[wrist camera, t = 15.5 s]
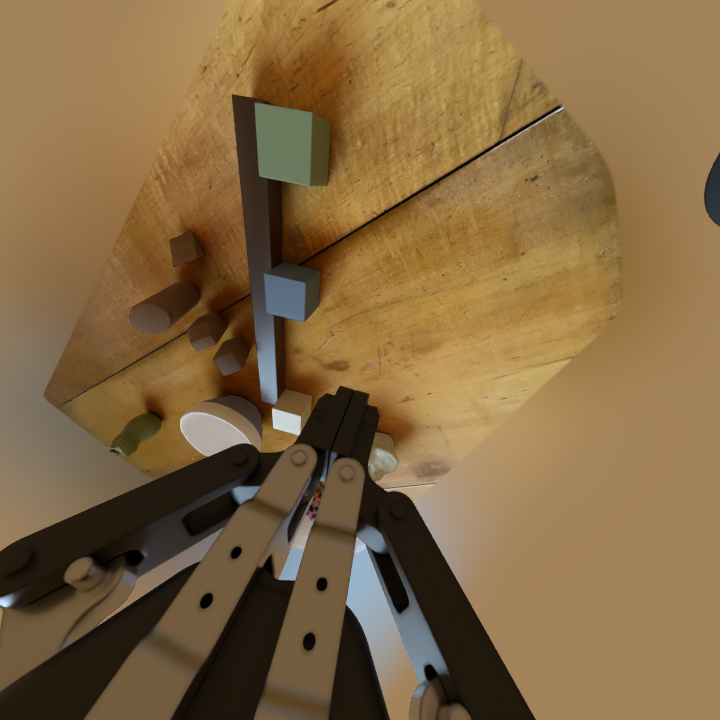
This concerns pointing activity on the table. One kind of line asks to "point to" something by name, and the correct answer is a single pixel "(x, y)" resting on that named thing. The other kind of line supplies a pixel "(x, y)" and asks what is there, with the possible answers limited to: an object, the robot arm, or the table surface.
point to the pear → (135, 434)
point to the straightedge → (261, 247)
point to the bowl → (222, 424)
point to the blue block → (292, 291)
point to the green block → (292, 145)
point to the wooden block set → (179, 301)
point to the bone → (382, 456)
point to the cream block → (291, 411)
